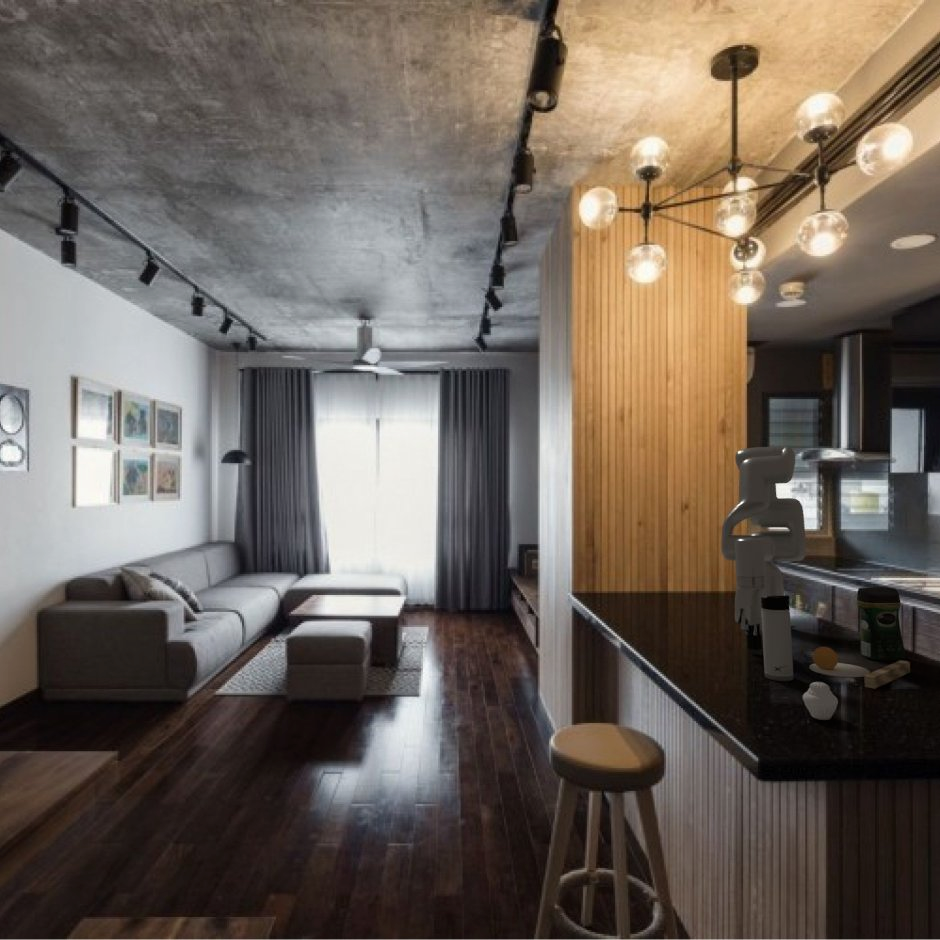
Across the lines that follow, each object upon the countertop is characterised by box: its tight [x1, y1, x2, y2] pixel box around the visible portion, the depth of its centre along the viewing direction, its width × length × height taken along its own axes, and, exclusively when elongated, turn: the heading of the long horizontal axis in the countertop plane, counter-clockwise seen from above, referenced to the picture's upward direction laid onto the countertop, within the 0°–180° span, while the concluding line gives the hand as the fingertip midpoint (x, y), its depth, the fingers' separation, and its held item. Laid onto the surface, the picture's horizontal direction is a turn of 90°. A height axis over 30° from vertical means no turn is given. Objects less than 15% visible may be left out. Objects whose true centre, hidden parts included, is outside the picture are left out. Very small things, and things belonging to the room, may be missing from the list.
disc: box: [808, 662, 871, 678], centre depth 158 cm, size 13×13×1 cm
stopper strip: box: [863, 660, 911, 689], centre depth 149 cm, size 20×2×2 cm, turn 126°
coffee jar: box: [856, 586, 906, 662], centre depth 168 cm, size 10×8×19 cm
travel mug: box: [761, 594, 794, 682], centre depth 153 cm, size 6×7×20 cm
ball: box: [812, 646, 839, 670], centre depth 159 cm, size 6×6×6 cm
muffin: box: [802, 681, 839, 721], centre depth 126 cm, size 6×6×7 cm
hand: (754, 648), depth 176 cm, fingers closed
